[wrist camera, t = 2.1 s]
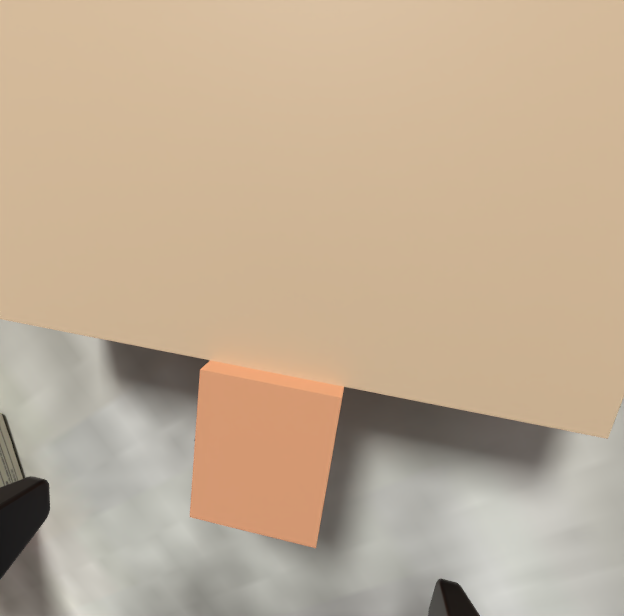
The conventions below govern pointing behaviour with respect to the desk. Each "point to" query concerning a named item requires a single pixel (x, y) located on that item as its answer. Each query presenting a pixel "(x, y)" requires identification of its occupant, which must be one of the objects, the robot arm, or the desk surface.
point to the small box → (7, 458)
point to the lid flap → (322, 213)
